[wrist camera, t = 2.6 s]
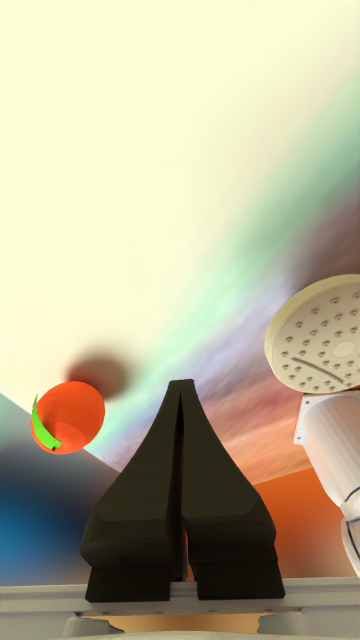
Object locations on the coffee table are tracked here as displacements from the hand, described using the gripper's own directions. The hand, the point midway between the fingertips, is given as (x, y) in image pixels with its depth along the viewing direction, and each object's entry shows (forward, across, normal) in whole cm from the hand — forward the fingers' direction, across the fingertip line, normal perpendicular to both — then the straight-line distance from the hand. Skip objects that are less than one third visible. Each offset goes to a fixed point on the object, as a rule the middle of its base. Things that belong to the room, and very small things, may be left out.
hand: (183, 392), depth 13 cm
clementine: (+10, +13, +8) cm, 18 cm away
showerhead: (+10, -11, 0) cm, 15 cm away
